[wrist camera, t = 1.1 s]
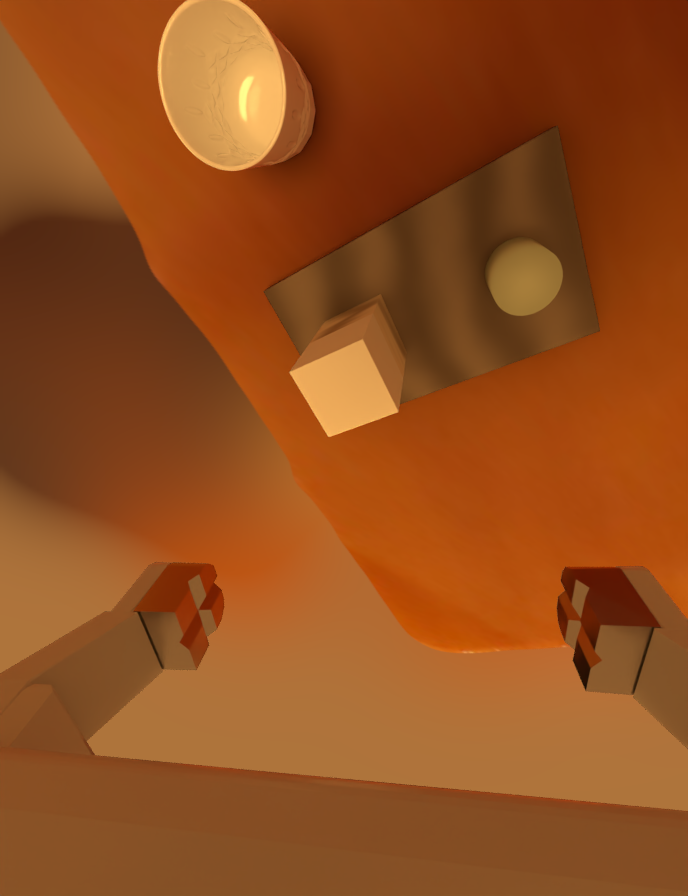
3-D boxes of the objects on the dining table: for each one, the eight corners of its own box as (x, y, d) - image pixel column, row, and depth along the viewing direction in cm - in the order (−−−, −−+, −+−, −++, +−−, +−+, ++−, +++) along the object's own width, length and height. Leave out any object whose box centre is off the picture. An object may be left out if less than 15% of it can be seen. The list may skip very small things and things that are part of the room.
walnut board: (552, 127, 30) (557, 125, 28) (594, 325, 37) (600, 330, 35) (268, 287, 40) (263, 291, 39) (343, 419, 47) (341, 425, 46)
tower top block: (373, 313, 32) (362, 339, 27) (403, 377, 35) (398, 412, 30) (309, 343, 34) (289, 372, 30) (342, 401, 37) (328, 437, 32)
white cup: (261, 8, 29) (194, -54, 21) (343, 101, 31) (312, 77, 23) (209, 117, 33) (137, 101, 25) (285, 193, 35) (241, 200, 27)
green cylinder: (538, 225, 32) (554, 233, 28) (552, 283, 34) (569, 299, 30) (477, 254, 34) (483, 266, 30) (494, 308, 36) (502, 326, 32)
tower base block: (380, 294, 37) (373, 313, 32) (406, 352, 40) (403, 377, 35) (324, 321, 39) (309, 343, 34) (352, 374, 42) (342, 401, 37)
